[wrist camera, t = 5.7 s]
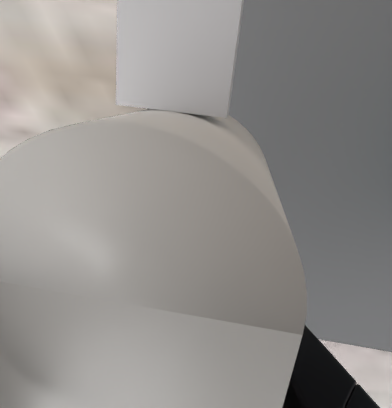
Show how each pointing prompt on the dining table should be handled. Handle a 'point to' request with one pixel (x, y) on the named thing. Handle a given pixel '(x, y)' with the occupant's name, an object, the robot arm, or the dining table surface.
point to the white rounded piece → (150, 238)
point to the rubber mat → (327, 149)
